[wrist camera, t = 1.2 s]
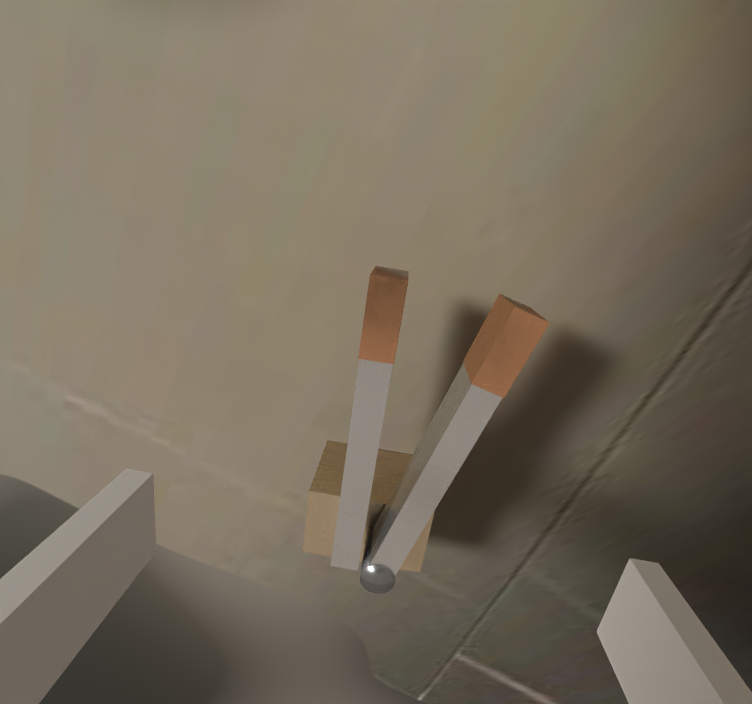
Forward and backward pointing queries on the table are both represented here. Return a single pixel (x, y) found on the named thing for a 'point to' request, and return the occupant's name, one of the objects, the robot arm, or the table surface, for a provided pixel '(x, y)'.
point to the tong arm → (450, 436)
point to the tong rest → (363, 443)
